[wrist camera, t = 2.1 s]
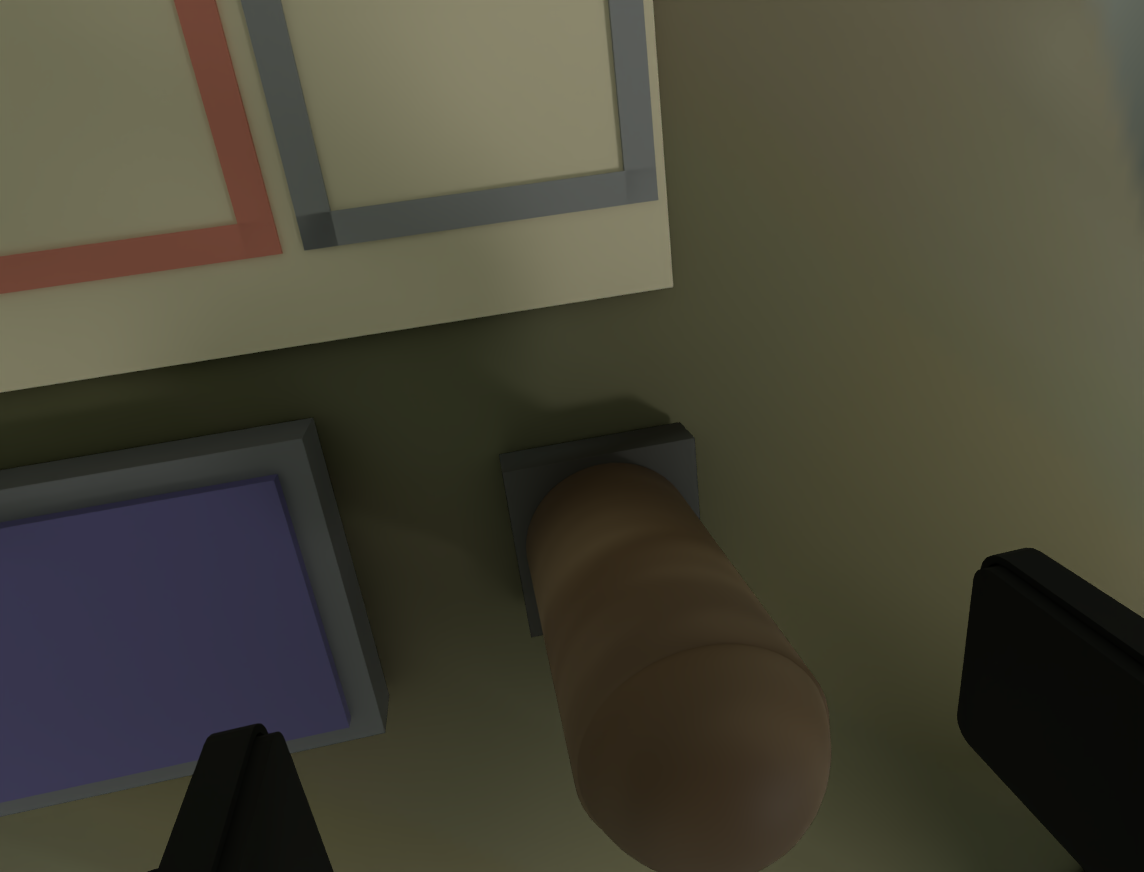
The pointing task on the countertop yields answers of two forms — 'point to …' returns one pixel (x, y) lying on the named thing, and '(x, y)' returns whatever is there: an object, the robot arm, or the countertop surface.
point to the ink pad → (175, 612)
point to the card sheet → (314, 172)
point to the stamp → (663, 658)
